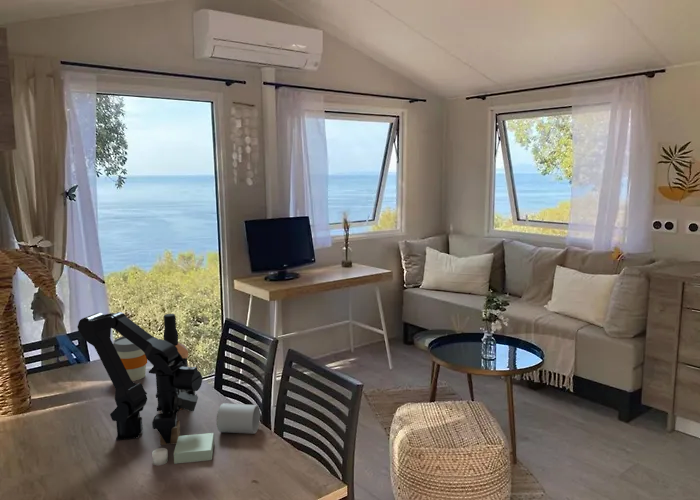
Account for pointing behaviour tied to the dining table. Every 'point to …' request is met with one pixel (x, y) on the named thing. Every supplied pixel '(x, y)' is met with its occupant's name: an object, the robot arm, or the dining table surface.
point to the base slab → (194, 448)
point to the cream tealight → (160, 456)
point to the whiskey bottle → (174, 338)
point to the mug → (238, 418)
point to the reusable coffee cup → (131, 358)
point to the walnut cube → (172, 435)
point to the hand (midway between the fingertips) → (170, 436)
